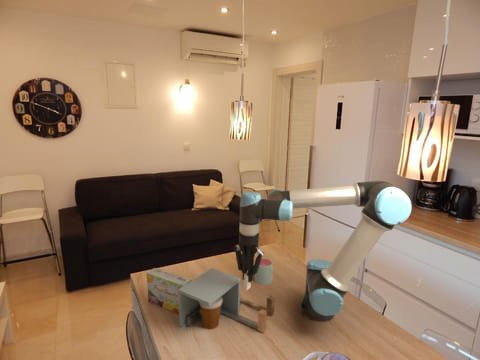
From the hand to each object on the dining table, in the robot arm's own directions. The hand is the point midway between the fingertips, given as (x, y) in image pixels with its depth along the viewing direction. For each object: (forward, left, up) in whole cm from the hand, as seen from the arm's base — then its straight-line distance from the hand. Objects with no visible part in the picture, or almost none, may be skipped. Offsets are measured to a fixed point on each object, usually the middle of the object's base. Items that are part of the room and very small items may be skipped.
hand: (247, 288), depth 124 cm
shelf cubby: (+13, +7, -16) cm, 22 cm away
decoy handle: (+4, -11, -16) cm, 20 cm away
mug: (+11, -36, -16) cm, 41 cm away
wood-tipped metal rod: (+5, +7, -16) cm, 18 cm away
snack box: (+34, +10, -16) cm, 39 cm away
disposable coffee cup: (+12, +8, -16) cm, 22 cm away
